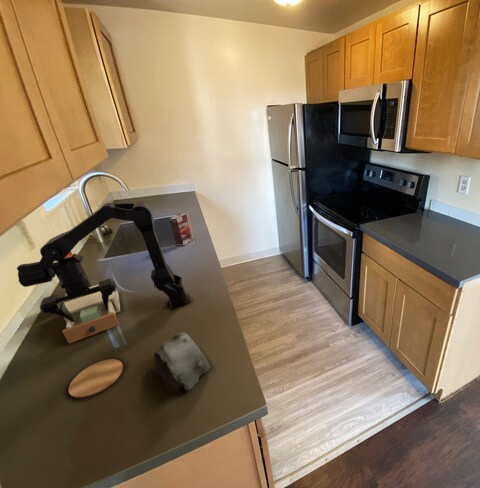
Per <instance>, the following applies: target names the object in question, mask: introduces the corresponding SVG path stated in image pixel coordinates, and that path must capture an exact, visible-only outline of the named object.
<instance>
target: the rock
mask: <svg viewBox="0 0 480 488" xmlns="http://www.w3.org/2000/svg"><path fill="white" fill-rule="evenodd" d="M153 358H154V369H155V372H156V373H157V375H159V377H161V378H162V379H163V382H164V385H165V386H166V388H167V390H168V391H169V392H170V394H173V395H174V394H176V393H177V392H178V391H179V389H181V388H184V390H185V391H191V390H192V389H193V388H194V386H195V385H196V384H197V383H198V382H200V377H201V376H202V375H204V374H205V373H207V372H208V371H209V370H211V369H212V366H211V365H210V363H209V361H208V360H207V358H206V357H205V355H204V353H203V352H202V350H200V349H199V346H198V345H197V344H196V343H195V342H194V340H193V339H192V338H191V336H190V335H189V334H188V333H187V332H183V331H181V332H177V333H176V334H174V336H173V337H172V338H170V339H168V340H166V341H164V342H162V344H161V345H160V346H159V349H156V350H155V351H154V354H153Z"/></svg>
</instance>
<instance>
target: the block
mask: <svg viewBox="0 0 480 488" xmlns="http://www.w3.org/2000/svg"><path fill="white" fill-rule="evenodd" d="M101 316H102V315H101V313H100V311H99V309H98V307H97V306H94V307H91V308H88V309H85V310H82V311H81V313H80V319H81V321H82V322H83V323H84V322H87V321H90V320H93V319H96V318H99V317H101Z"/></svg>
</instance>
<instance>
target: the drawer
mask: <svg viewBox="0 0 480 488" xmlns="http://www.w3.org/2000/svg"><path fill="white" fill-rule="evenodd" d="M94 306H97V307H98V309H99V311H100V313H101V315H102V316H101V317H99V318H96V319H93V320H90V321H87V322H84V323H83V322H82V321H81V319H80V313H81V311H82V310H85V309H88V308H91V307H94ZM94 306H91V307H88V308H85V309H82V310H79V311H76V312H73V313H71V315H72V316H73V318H74V322H72V321H70V320H68V319H67V322H66V326H65V327H66V328H64V329H62V334H63V336H64V338H65V339H66V341H67V343H68V344H72V343H75V342H78V341H80V340H83V339H86V338H88V337H90V336H93V335H96V334H98V333H99V334H100V333H101V332H104V331H106V330H110V329H112V328H115V327H117V326H120V322H119V320H118V317H117V316H116V314H117V313H115V305H114V303H113V301H112V300H109V301H108V310H106V309H105V306H104V303H100V304H97V305H94Z"/></svg>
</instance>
